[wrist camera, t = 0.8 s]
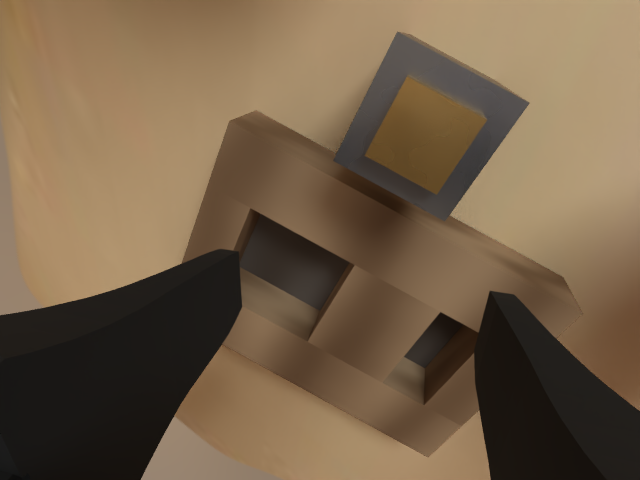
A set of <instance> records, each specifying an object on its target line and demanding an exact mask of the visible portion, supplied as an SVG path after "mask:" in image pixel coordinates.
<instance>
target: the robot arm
mask: <svg viewBox="0 0 640 480" xmlns="http://www.w3.org/2000/svg"><path fill="white" fill-rule="evenodd" d="M241 309H242V295H241V279H240V263H239V251H233V250H226V249H217V250H214V251H211V252H209V253H206V254H203V255H201V256H199V257H196V258H194V259H191V260H189V261H187V262H184V263H182V264H180V265H177V266H175V267H173V268H170V269H168V270H166V271H163V272H161V273H158V274H156V275H153V276H150V277H148V278H145V279H143V280H140V281H137V282H135V283H132V284H130V285H127V286H124V287H121V288H118V289H115V290H112V291H109V292H105V293H102V294H98V295H95V296H92V297H88V298H84V299H80V300H76V301H72V302H67V303H63V304H59V305H54V306H50V307H46V308H41V309H35V310H30V311H24V312H19V313H13V314H6V315H0V480H141V478H142V476H143V474H144V472H145V469H146V468H147V465H148V464H149V462H150V460H151V458H152V456H153V454H154V452H155V450H156V448H157V446H158V444H159V443H160V441H161V438H162V437H163V435H164V433H165V431H166V429H167V428H168V426H169V424H170V422H171V420H172V419H173V417H174V415H175V413H176V412H177V410H178V408H179V406H180V404H181V403H182V401H183V400H184V398H185V397H186V395H187V394H188V392H189V390H190V389H191V388H192V386H193V385H194V383H195V382H196V381H197V379H198V378H199V376H200V375H201V373H202V372H203V371H204V369H205V368H206V366H207V365H208V364H209V362H210V361H211V359H212V358H213V356H214V355H215V354H216V352H217V351H218V349H219V348H220V346H221V345H222V343H223V342H224V341H225V339H226V338H227V336H228V335H229V333H230V331H231V329H232V327H233V325H234V323H235V321H236V319H237V317H238V315H239V313H240V311H241ZM474 369H475V386H476V392H477V398H478V404H479V410H480V416H481V422H482V427H483V433H484V439H485V444H486V450H487V456H488V462H489V469H490V477H491V480H640V411H639V410H637V409H636V408H635V407H633V406H632V405H631V404H629V403H628V402H627V401H626V400H624V399H623V398H622V397H621V396H619V395H618V394H617V393H616V392H614V391H613V390H612V389H611V388H609V387H608V386H607V385H606V384H604V383H603V382H602V381H601V380H600V379H598V378H597V377H596V376H595V375H594V374H593V373H592V372H590V371H589V370H588V369H587V368H586V367H585V366H584V365H583V364H582V363H581V362H580V361H578V360H577V359H576V358H575V357H574V356H573V355H572V354H571V353H570V352H569V351H568V350H567V349H566V348H565V347H564V346H563V345H562V344H561V343H560V342H559V341H558V340H557V339H556V338H555V337H554V336H553V335H552V334H551V333H550V332H549V331H548V330H547V329H546V328H545V327H544V326H543V325H542V323H541V322H540V321H539V320H538V319H537V318H536V317H535V316H534V315H533V314H532V313H531V312H530V310H529V309H528V308H527V307H526V306H525V305H524V304H523V303H522V302H521V301H520V300H519V299H518V298H517V297H516V296H515V295H514V294H508V293H502V292H495V291H489V295H488V299H487V303H486V307H485V310H484V314H483V318H482V322H481V326H480V329H479V333H478V337H477V341H476V345H475V348H474Z"/></svg>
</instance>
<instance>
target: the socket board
mask: <svg viewBox="0 0 640 480" xmlns="http://www.w3.org/2000/svg"><path fill="white" fill-rule="evenodd" d="M335 156H336V154H335V153H333V152H332V151H330V150H328V149H326V148H324V147H322V146H321V145H319V144H317V143H315V142H313V141H311V140H310V139H308V138H306V137H304V136H302V135H300V134H298V133H297V132H295V131H293V130H291V129H289V128H287V127H286V126H284V125H282V124H280V123H278V122H276V121H275V120H273V119H271V118H269V117H267V116H265V115H264V114H262V113H260V112H258V111H253V112H251V113H248V114H246V115H243V116H241V117H238V118H236V119H233V120H231V121H229V124H228V127H227V130H226V133H225V136H224V139H223V142H222V145H221V148H220V150H219V153H218V156H217V159H216V162H215V165H214V168H213V171H212V174H211V177H210V180H209V183H208V186H207V189H206V192H205V195H204V198H203V201H202V204H201V207H200V210H199V213H198V216H197V219H196V222H195V225H194V228H193V231H192V234H191V237H190V240H189V243H188V246H187V249H186V252H185V255H184V258H183V261H182V263H184V262H187V261H189V260H191V259H194V258H196V257H199V256H201V255H203V254H206V253H209V252H211V251H214V250H217V249H226V250H233V251H239V263H240V279H241V295H242V309H241V311H240V313H239V315H238V317H237V319H236V321H235V323H234V325H233V327H232V329H231V331H230V333H229V335H228V336H227V338H226V339H225V341H224V342H223V343H222V344H223V345H224V346H226V347H228V348H230V349H232V350H233V351H235V352H237V353H239V354H241V355H243V356H244V357H246V358H248V359H250V360H252V361H253V362H255V363H257V364H259V365H261V366H263V367H264V368H266V369H268V370H270V371H272V372H274V373H275V374H277V375H279V376H281V377H283V378H284V379H286V380H288V381H290V382H292V383H294V384H295V385H297V386H299V387H301V388H303V389H304V390H306V391H308V392H310V393H312V394H314V395H315V396H317V397H319V398H321V399H323V400H324V401H326V402H328V403H330V404H332V405H334V406H335V407H337V408H339V409H341V410H343V411H344V412H346V413H348V414H350V415H352V416H354V417H355V418H357V419H359V420H361V421H363V422H364V423H366V424H368V425H370V426H372V427H374V428H375V429H377V430H379V431H381V432H383V433H384V434H386V435H388V436H390V437H392V438H394V439H395V440H397V441H399V442H401V443H403V444H404V445H406V446H408V447H410V448H412V449H414V450H415V451H417V452H419V453H421V454H423V455H424V456H426V457H429V456H430V455H431V454H432V453H433V452H434V451H435V450H437V449H438V448H439V447H440V446H441V445H442V444H443V443H444V442H445V441H446V440H447V439H448V438H449V437H451V436H452V435H453V434H454V433H455V432H456V431H457V430H458V429H459V428H460V427H461V426H462V425H463V424H465V423H466V422H467V421H468V420H469V419H470V418H471V417H472V416H473V415H474V414H475V413H476V412H477V411H479V404H478V398H477V392H476V386H475V369H474V348H475V345H476V341H477V337H478V333H479V329H480V326H481V322H482V318H483V314H484V310H485V307H486V303H487V299H488V295H489V291H495V292H502V293H508V294H514V295H515V296H516V297H517V298H518V299H519V300H520V301H521V302H522V303H523V304H524V305H525V306H526V307H527V308H528V309H529V310H530V312H531V313H532V314H533V315H534V316H535V317H536V318H537V319H538V320H539V321H540V322H541V323H542V325H543V326H544V327H545V328H546V329H547V330H548V331H549V332H550V333H551V334H552V335H553V336H554V337H555V338H557V337H558V336H559V335H560V334H562V333H563V332H564V331H565V330H566V329H567V328H568V327H569V326H570V325H571V324H572V323H573V322H574V321H576V320H577V319H578V318H579V317H580V316H581V315H582V314H583V313H582V311H581V309H580V307H579V305H578V304H577V302H576V300H575V298H574V296H573V294H572V293H571V291H570V289H569V287H568V285H567V283H566V282H565V280H564V278H563V277H562V276H560V275H558V274H556V273H554V272H552V271H550V270H549V269H547V268H545V267H543V266H541V265H539V264H538V263H536V262H534V261H532V260H530V259H528V258H527V257H525V256H523V255H521V254H519V253H517V252H516V251H514V250H512V249H510V248H508V247H506V246H504V245H503V244H501V243H499V242H497V241H495V240H493V239H492V238H490V237H488V236H486V235H484V234H482V233H481V232H479V231H477V230H475V229H473V228H471V227H470V226H468V225H466V224H464V223H462V222H460V221H459V220H457V219H455V218H453V217H451V216H448V218H447V219H446V221H443V220H441V219H439V218H437V217H436V216H434V215H432V214H430V213H428V212H426V211H425V210H423V209H421V208H419V207H417V206H415V205H413V204H412V203H410V202H408V201H406V200H404V199H402V198H401V197H399V196H397V195H395V194H393V193H391V192H390V191H388V190H386V189H384V188H382V187H380V186H379V185H377V184H375V183H373V182H371V181H369V180H367V179H366V178H364V177H362V176H360V175H358V174H356V173H355V172H353V171H351V170H349V169H347V168H345V167H344V166H342V165H340V164H338V163H336V162H334V161H333V160H334V158H335Z"/></svg>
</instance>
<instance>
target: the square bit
mask: <svg viewBox="0 0 640 480" xmlns="http://www.w3.org/2000/svg"><path fill="white" fill-rule="evenodd" d="M528 104H529V102H527V101H526V100H524V99H523V98H521V97H520V96H518V95H517V94H515V93H514V92H512V91H511V90H509V89H508V88H506V87H504V86H503V85H501V84H500V83H498V82H497V81H495V80H494V79H492V78H490V77H488V76H486V75H484V74H482V73H481V72H479V71H477V70H475V69H473V68H471V67H469V66H468V65H466V64H464V63H462V62H460V61H458V60H457V59H455V58H453V57H451V56H449V55H447V54H445V53H444V52H442V51H440V50H438V49H436V48H434V47H432V46H431V45H429V44H427V43H425V42H423V41H421V40H419V39H418V38H416V37H414V36H412V35H410V34H406V33H401V32H397V33H396V35H395V37H394V39H393V41H392V43H391V45H390V47H389V49H388V51H387V53H386V56H385V58H384V60H383V62H382V64H381V66H380V68H379V70H378V72H377V74H376V76H375V78H374V80H373V82H372V84H371V86H370V88H369V90H368V92H367V94H366V96H365V98H364V100H363V102H362V104H361V106H360V108H359V110H358V112H357V114H356V116H355V118H354V120H353V122H352V124H351V126H350V128H349V130H348V132H347V134H346V136H345V138H344V140H343V142H342V144H341V146H340V148H339V150H338V152H337V154H336V156H335V158H334V160H333V161H334V162H336V163H338V164H340V165H342V166H344V167H345V168H347V169H349V170H351V171H353V172H355V173H356V174H358V175H360V176H362V177H364V178H366V179H367V180H369V181H371V182H373V183H375V184H377V185H379V186H380V187H382V188H384V189H386V190H388V191H390V192H391V193H393V194H395V195H397V196H399V197H401V198H402V199H404V200H406V201H408V202H410V203H412V204H413V205H415V206H417V207H419V208H421V209H423V210H425V211H426V212H428V213H430V214H432V215H434V216H436V217H437V218H439V219H441V220H443V221H446V219H447V218H448V216H449V215H450V214H451V212H452V211H453V209H454V208H455V207H456V205H457V204H458V202H459V201H460V200H461V198H462V197H463V195H464V194H465V193H466V191H467V190H468V188H469V187H470V186H471V184H472V183H473V181H474V180H475V179H476V177H477V176H478V174H479V173H480V172H481V170H482V169H483V167H484V166H485V165H486V163H487V162H488V160H489V159H490V158H491V156H492V155H493V153H494V152H495V151H496V149H497V148H498V146H499V145H500V144H501V142H502V141H503V139H504V138H505V137H506V135H507V134H508V132H509V131H510V130H511V128H512V127H513V125H514V124H515V123H516V121H517V120H518V118H519V117H520V116H521V114H522V113H523V111H524V110H525V109H526V107H527V106H528Z"/></svg>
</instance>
